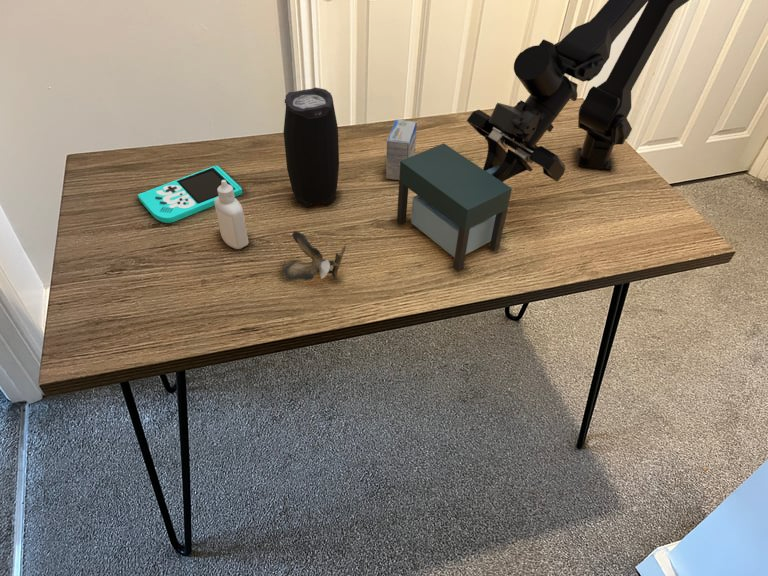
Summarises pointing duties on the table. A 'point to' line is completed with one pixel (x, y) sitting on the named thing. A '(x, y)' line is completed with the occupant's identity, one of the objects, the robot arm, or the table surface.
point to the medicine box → (400, 146)
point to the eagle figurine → (317, 265)
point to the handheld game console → (186, 195)
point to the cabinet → (454, 193)
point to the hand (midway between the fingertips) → (483, 186)
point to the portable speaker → (311, 146)
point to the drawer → (449, 226)
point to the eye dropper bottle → (230, 217)
